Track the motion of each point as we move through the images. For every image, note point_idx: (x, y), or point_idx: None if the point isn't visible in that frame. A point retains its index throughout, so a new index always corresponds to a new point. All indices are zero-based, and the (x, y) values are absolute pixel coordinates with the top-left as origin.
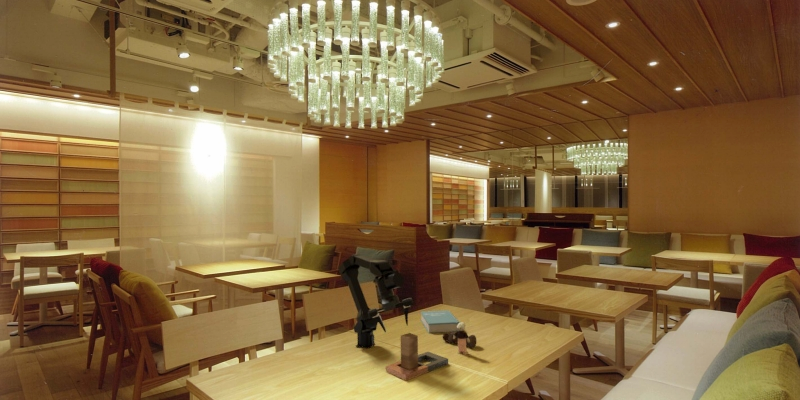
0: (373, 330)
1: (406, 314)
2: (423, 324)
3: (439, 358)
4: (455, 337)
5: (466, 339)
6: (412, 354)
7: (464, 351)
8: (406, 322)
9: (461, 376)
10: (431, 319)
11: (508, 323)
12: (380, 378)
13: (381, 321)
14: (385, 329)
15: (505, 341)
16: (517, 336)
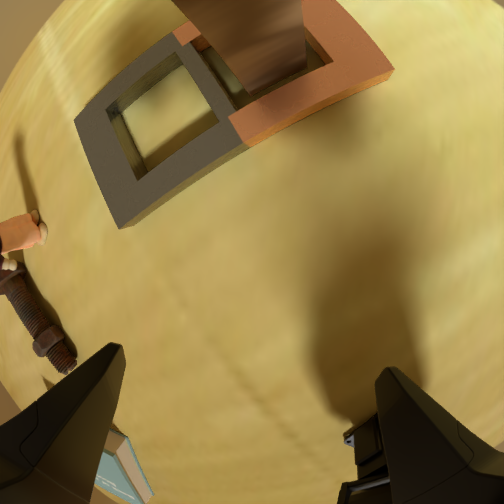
0: (357, 481)
1: (22, 431)
2: (145, 479)
3: (96, 124)
4: (35, 326)
5: (12, 288)
6: None
7: (27, 214)
8: (100, 365)
9: (98, 25)
10: (109, 470)
11: (2, 372)
12: (410, 27)
13: (461, 453)
14: (379, 402)
15: None
16: None
